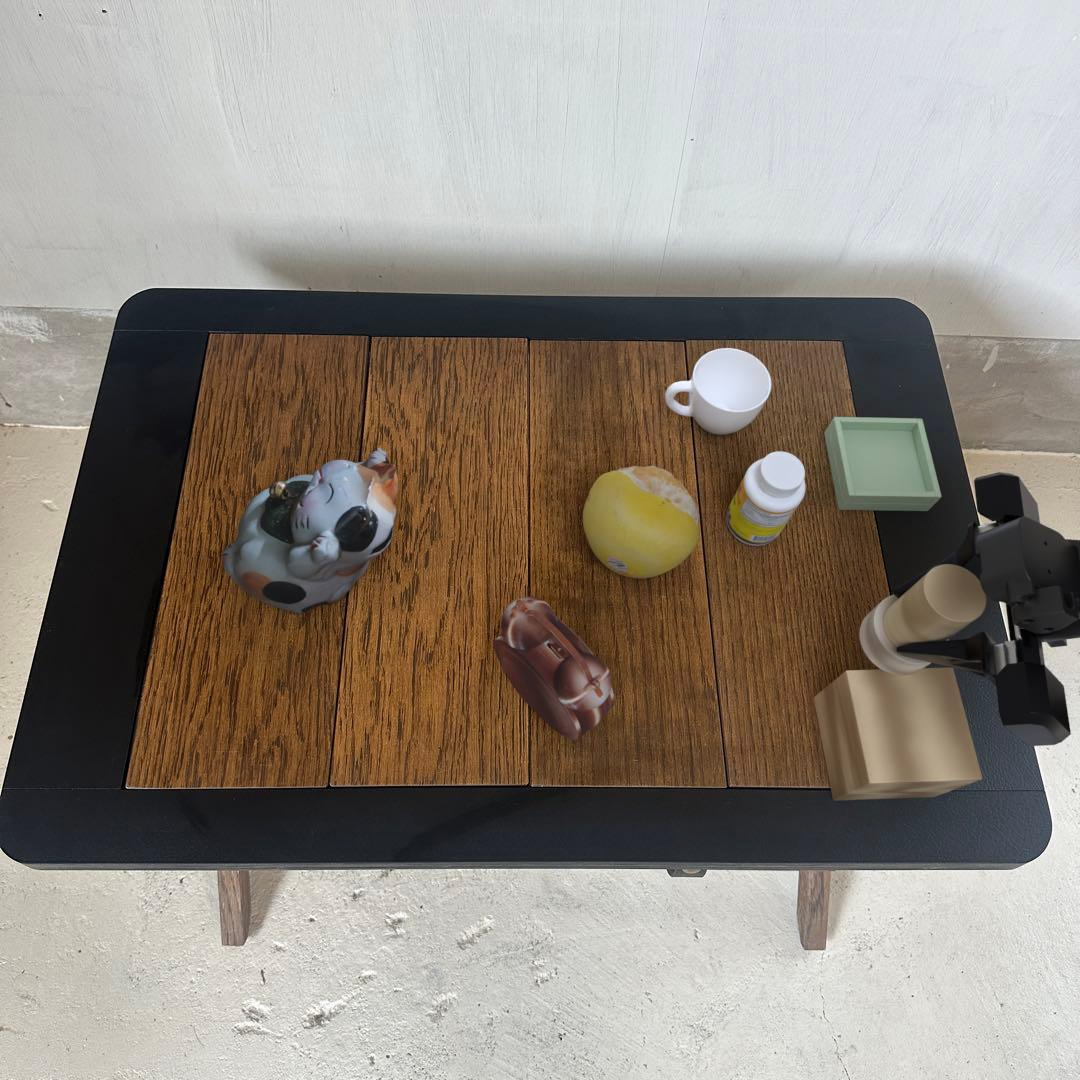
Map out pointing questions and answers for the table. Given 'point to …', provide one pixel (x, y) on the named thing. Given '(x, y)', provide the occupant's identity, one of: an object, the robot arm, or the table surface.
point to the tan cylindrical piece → (921, 617)
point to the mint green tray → (881, 464)
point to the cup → (723, 391)
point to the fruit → (640, 521)
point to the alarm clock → (553, 668)
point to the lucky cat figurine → (314, 533)
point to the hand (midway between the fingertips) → (896, 622)
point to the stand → (895, 735)
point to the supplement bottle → (766, 498)
